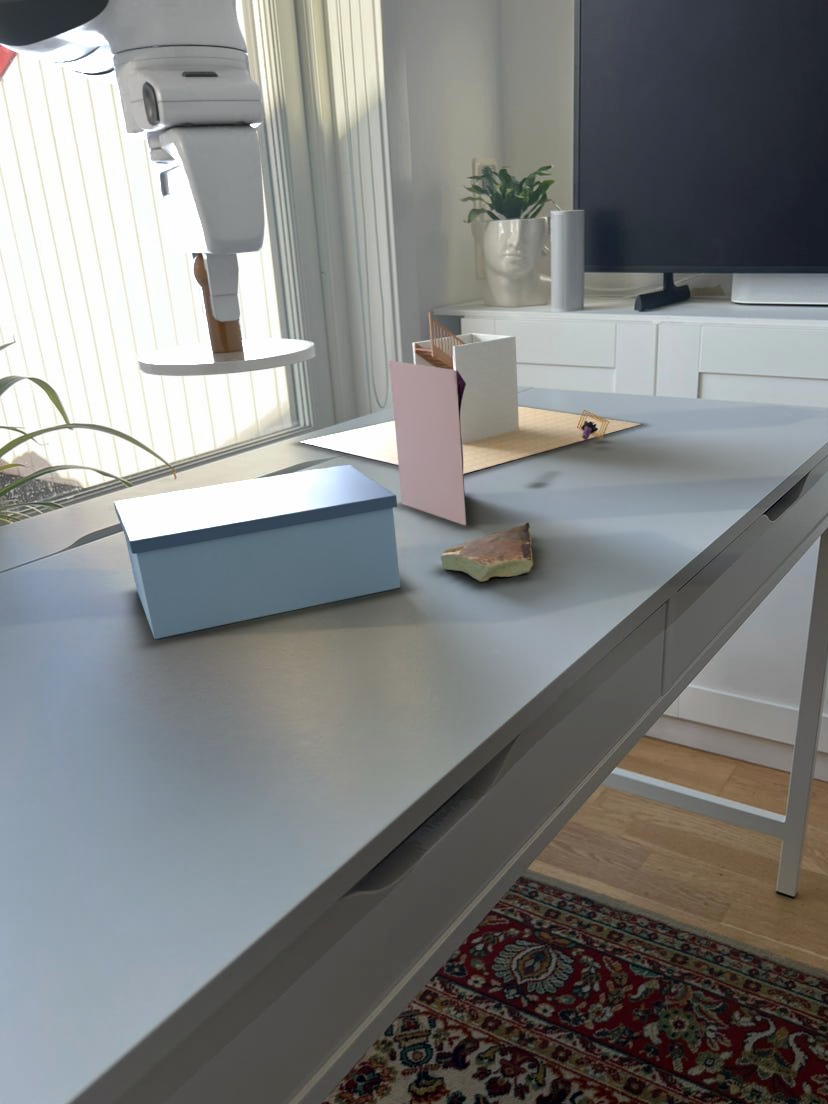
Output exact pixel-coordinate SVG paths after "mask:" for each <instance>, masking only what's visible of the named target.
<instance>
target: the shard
mask: <svg viewBox="0 0 828 1104" xmlns="http://www.w3.org/2000/svg"><path fill="white" fill-rule="evenodd" d="M530 528H531V526H530V522H526V523H525V524H523V525H518V526H515V527H512V528H510V529H507V530H503V531H500V532H499V531H498V532H496V533H495V532H494V533H491V534H488V535H485V536H483V537H479V538H475V539H472V540H469V541H467V542H464V543H460V544H458V545H456V546H452V547H450V548H448V549H444V551H443V552H442V553H441V555H440V561H441V566H442V569H443V570H449V571H458V572H462V573H465V574H468V576H470V577H471V578H473V579H475V580H476V581H478V582H480V583H482V582H484V583H485V582H486V581H489V580H490V578H494V577H500V578H504V577H506V578H509V577H518V576H520V575H524V574H528V573H530V572H531V571H532V567H533V566H534V560H533V551H532V543H533V542H532V535H531V533H530Z"/></svg>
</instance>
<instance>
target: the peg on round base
mask: <svg viewBox="0 0 828 1104" xmlns="http://www.w3.org/2000/svg"><path fill="white" fill-rule="evenodd" d="M191 270H192V276H193V279H194V281H195V283H196V282H197V283H196V285H197V284H198V285H199V286H200V287H201V291H202V298H203V304H204V310H205V314H204V317H205V321H206V322H205V323H206V327H207V328H206V329H207V333H208V334H207V335H208V339H209V340H208V341H209V342H206V343H197V344H190V345H182V346H176V347H171V348H166V349H161V350H156V351H153V352H149V353H146V354H144V355H141V356H139V357H138V358H137V363H138V367H139V370H140V372H142V373H144V374H146V375H147V374H148V375H152V376H166V377H192V376H215V375H216V376H217V375H227V374H237V373H246V372H247V373H249V372H255V371H264V370H270V369H276V368H282V367H287V366H291V365H295V364H300V363H303V362H306V361H309V360H312V359H313V358H314V357H316V355H317V352H316V351H317V350H316V345H315V342H312V341H310V340H306V339H305V340H303V339H295V338H294V339H293V338H259V339H243V333H242V326H241V320H240V317H239V318H238V319H237V320H235V321H224V322H221V321H218V320H216V319H215V318H214V317H213V316H212V312H211V305H210V300H209V295H210V290H209V283H208V277H207V270H205V266H204V260H203V254H202V253H198V254H197V256H196V257H195V259H194V262H193V266H192V268H191Z"/></svg>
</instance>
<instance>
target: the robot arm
mask: <svg viewBox="0 0 828 1104" xmlns="http://www.w3.org/2000/svg"><path fill="white" fill-rule="evenodd" d="M0 45H1V46H3V47H4V48H7V49H8V50H11V51H14V52H16V53H19V54H22V55H25V56H28V57H32V58H35V59H37V60H40V61H42V62H45V63H46V62H47V63H49V64H52V65H57V66H59V67H62V68H63V67H64V68H67V69H70V70H72V71H73V72H75V73H78V74H79V75H82V76H84V77H85V78H88V79H90V80H92V81H95V82H97V83H103V84H111V85H115V84H116V85H117V86H116V87H117V92H118V98H119V102H120V108H121V113H122V118H123V125H124V130H125V135H126V136H127V137H128V138H131V139H132V138H133V139H141V140H146V145H147V149H148V157H149V162H150V163H151V164H154V169H155V170H154V171H155V177H156V186H157V192H158V200H159V207H160V212H161V219H162V226H163V232H164V236H165V240H166V243H167V246H168V249H170V250H171V251H172V252H173V251H174V252H182V253H184V252H185V253H188V255H189V261H190V267H191V269H192V266H193V262H194V259H195V257H196V256H197V254H198V253H202V254H203V260H204V266H205V270H207V277H208V283H209V290H210V295H209V300H210V305H211V312H212V316H213V317H214V318H215V319H216V320H218V321H221V322H224V321H235V320H237V319H238V318H239V319H240V318H241V309H240V302H239V296H238V294H239V269H240V268H239V261H238V255H237V254H244V253H245V254H246V253H254V252H255V253H257V252H259V251H261V250H262V248H263V245H264V237H265V223H266V222H265V220H266V219H265V205H264V189H263V174H262V160H261V149H260V142H259V137H258V132H257V131H258V129H259V128H258V127H259V126H260V125H261V124H263V122H264V119H265V112H264V102H263V96H262V91H261V88H260V87H259V85H258V84H257V82H255V81H254V80H253V79H252V75H251V69H250V60H249V53H248V48H247V43H246V41H245V38H244V36H243V33H242V31H241V27H240V24H239V20H238V15H237V0H0ZM195 283H196V286H197V289H198V292H199V296H200V302H201V309H202V313H203V314H204V315H205V310H204V304H203V298H202V291H201V287H200V286H199V285H198V284H197V282H196V281H195Z"/></svg>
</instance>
